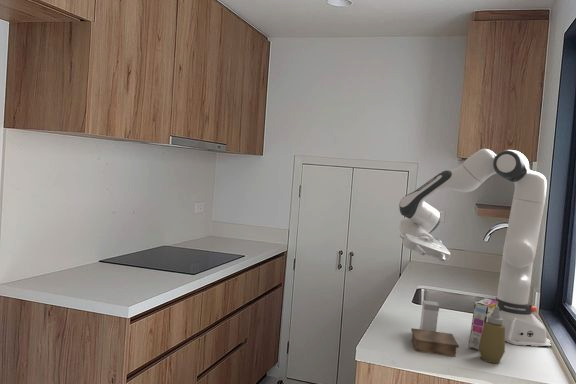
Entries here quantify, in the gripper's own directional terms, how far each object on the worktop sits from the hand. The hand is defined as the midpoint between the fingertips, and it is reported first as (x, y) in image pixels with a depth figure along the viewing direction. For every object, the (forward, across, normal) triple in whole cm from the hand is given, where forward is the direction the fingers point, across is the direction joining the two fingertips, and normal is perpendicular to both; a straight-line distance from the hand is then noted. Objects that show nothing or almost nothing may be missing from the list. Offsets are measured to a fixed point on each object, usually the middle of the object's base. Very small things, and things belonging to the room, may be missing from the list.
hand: (433, 257), depth 202 cm
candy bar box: (+27, +17, +17) cm, 36 cm away
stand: (+30, -3, +21) cm, 37 cm away
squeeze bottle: (+39, +12, +15) cm, 43 cm away
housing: (+17, +2, +24) cm, 29 cm away
